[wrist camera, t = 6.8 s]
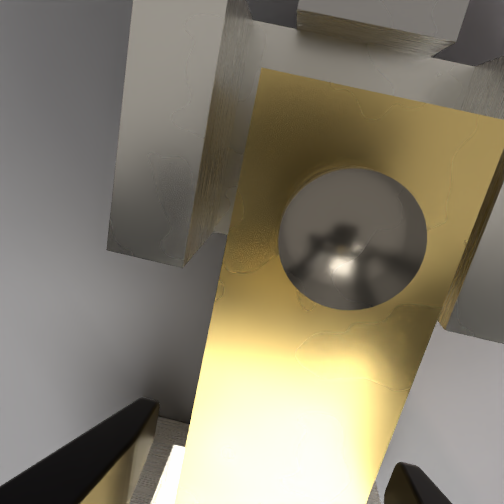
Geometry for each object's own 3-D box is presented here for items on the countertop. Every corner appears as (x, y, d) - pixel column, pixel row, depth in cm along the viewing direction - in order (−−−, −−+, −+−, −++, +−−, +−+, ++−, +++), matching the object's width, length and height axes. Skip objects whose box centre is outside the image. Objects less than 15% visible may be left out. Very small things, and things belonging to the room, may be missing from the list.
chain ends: (574, -58, 9) (789, -207, 5) (312, 629, 16) (317, 790, 12) (220, -128, 9) (167, -318, 5) (114, 576, 16) (57, 716, 12)
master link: (423, 127, 9) (539, 120, 5) (283, 558, 13) (277, 766, 9) (275, 95, 9) (257, 59, 5) (181, 531, 13) (126, 722, 9)
